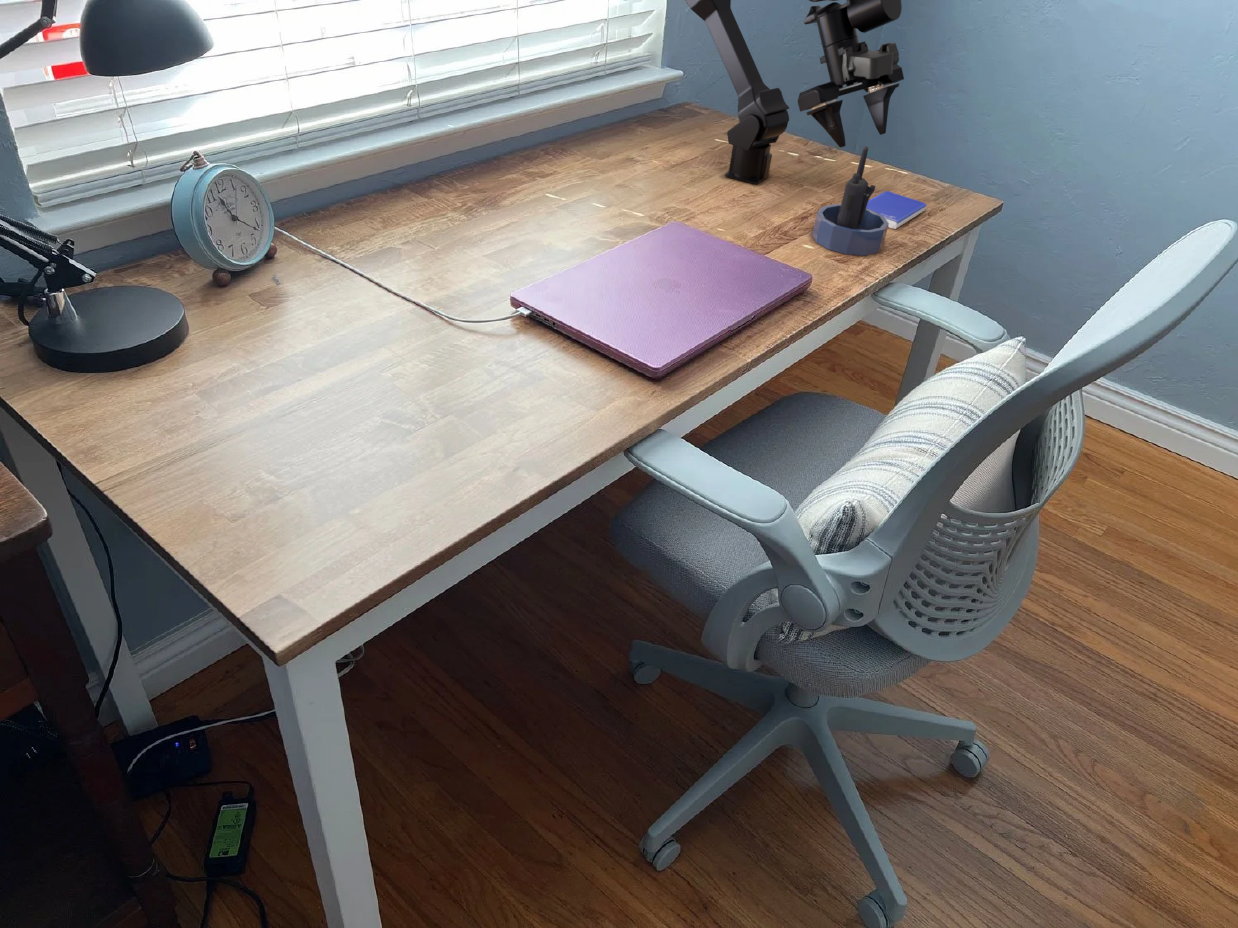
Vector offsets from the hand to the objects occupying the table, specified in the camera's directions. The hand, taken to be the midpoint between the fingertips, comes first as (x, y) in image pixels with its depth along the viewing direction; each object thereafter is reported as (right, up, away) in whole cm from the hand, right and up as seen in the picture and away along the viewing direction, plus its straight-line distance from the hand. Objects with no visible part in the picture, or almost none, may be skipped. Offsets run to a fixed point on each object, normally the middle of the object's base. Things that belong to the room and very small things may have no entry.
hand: (863, 140), depth 157 cm
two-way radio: (-3, -17, -1) cm, 17 cm away
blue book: (+7, -10, +10) cm, 16 cm away
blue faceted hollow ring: (-3, -17, -1) cm, 17 cm away
